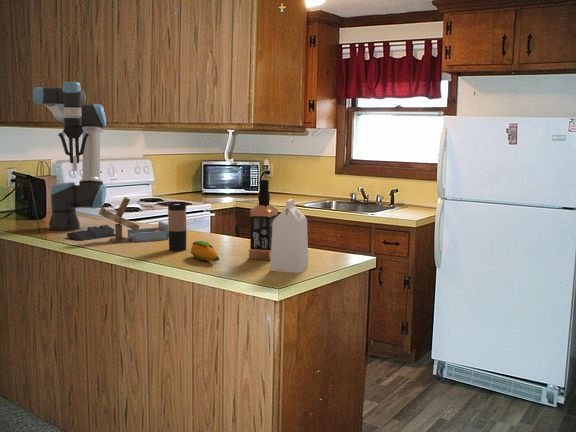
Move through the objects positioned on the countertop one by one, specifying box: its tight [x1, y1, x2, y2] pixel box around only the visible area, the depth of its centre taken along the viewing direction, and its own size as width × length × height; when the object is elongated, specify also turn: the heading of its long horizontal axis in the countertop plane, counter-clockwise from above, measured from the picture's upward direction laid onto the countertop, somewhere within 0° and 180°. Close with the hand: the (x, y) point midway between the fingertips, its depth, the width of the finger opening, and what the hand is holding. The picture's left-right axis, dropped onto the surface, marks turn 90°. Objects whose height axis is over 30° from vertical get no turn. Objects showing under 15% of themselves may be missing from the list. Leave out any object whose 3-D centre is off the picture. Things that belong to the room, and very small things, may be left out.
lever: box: [98, 196, 141, 231], centre depth 284 cm, size 18×9×12 cm, turn 118°
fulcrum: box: [109, 223, 129, 244], centre depth 284 cm, size 7×7×8 cm
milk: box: [269, 198, 309, 274], centre depth 231 cm, size 12×12×26 cm
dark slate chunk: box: [66, 224, 115, 242], centre depth 295 cm, size 15×22×5 cm
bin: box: [127, 220, 169, 243], centre depth 290 cm, size 16×12×7 cm
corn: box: [190, 240, 220, 262], centre depth 245 cm, size 7×8×20 cm
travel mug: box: [167, 202, 187, 252], centre depth 264 cm, size 8×8×20 cm
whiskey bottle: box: [248, 178, 279, 262], centre depth 249 cm, size 10×10×32 cm
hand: (75, 170), depth 277 cm, fingers closed
